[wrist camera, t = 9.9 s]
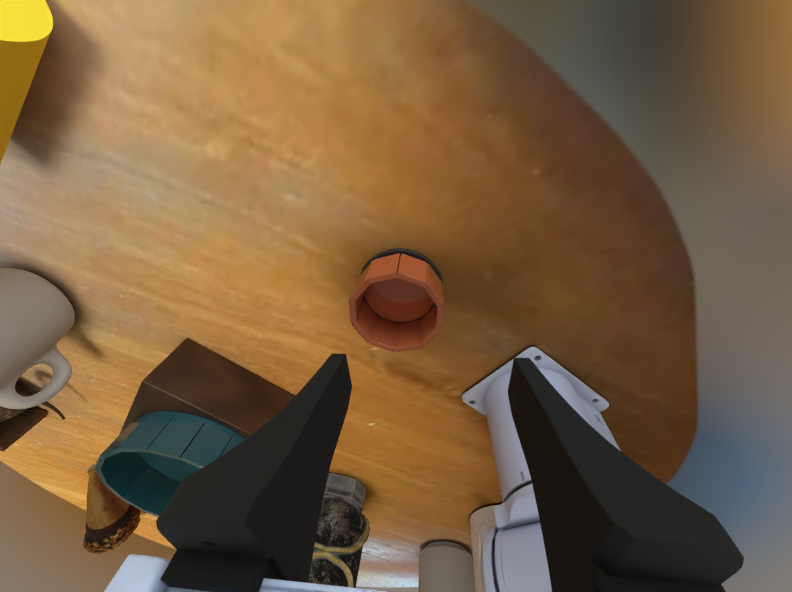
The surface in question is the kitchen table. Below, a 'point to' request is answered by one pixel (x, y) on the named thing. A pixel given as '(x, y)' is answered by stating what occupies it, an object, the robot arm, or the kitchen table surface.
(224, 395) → the stand
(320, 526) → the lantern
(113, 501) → the ice cream cone
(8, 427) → the figurine
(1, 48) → the tape roll
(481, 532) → the cup
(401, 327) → the small bowl
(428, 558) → the can
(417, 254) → the coaster
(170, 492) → the big bowl
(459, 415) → the kitchen table surface
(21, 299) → the cup
